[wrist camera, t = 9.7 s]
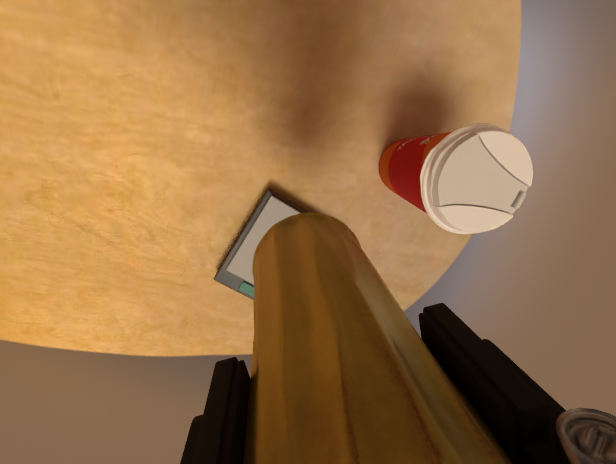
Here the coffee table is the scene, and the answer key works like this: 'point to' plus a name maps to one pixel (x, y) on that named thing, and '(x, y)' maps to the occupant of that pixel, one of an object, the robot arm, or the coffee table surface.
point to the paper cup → (460, 176)
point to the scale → (253, 242)
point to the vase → (346, 363)
